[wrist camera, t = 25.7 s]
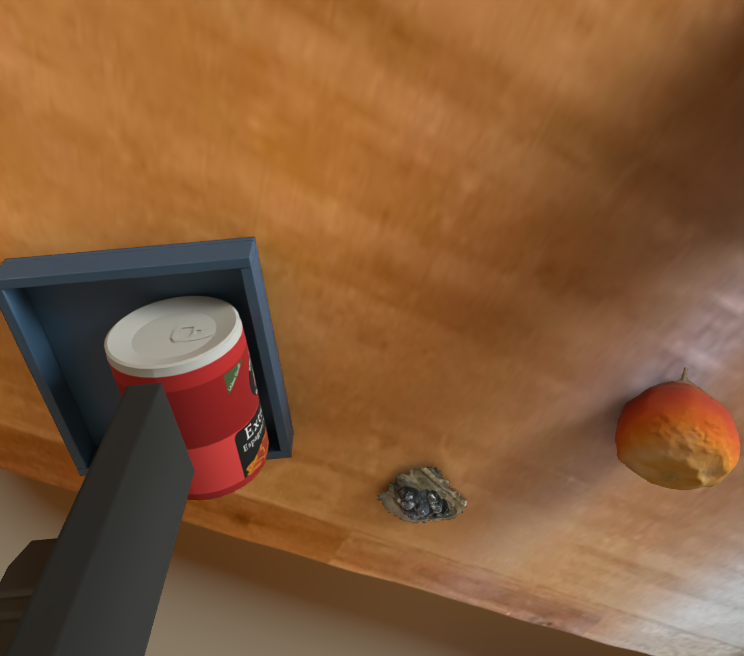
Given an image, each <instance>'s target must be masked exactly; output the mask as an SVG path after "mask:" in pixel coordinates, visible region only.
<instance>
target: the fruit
mask: <svg viewBox="0 0 744 656" xmlns="http://www.w3.org/2000/svg"><path fill="white" fill-rule="evenodd" d="M687 370H688V368H687V369H686V367H685V368H684V371H683V374H682V376H681V378H680V379H679V380H678V381H671V382H667V383H663V384H659V385H656V386H653V387H650V388H649V389H647V390H645V391H644V392H643V393H641V394H640V395H639V396H637V397H635V398H634V399H632V400H630V401H629V402H628V403H627V404H626V405H625V407H624V409H623V411H622V413H621V416H620V418H619V421H618V426H617V430H616V434H615V443H616V447H617V457H618V459H619V460H620V461H621V462H622V463H623V464H625V465H626V466H627V467H628V468H629V469H631V470H632V471H633V472H635V473H636V474H638V475H639V476H641V477H642V478H644V479H646V480H647V481H648V482H650V483H652V484H656V485H659V486H662V487H666V488H670V489H678V490H691V489H696V488H701V487H712V486H714V485H715V484H717V483H719V482H721V481H722V480H723V478H724V477H725V476H726V475H727V474H728V473H729V472H731V471H732V470H733V468H734V467H735V466H736V464H737V462H738V459H739V454H740V440H739V436H738V433H737V430H736V426H735V423H734V420H733V417H732V415H731V414H730V412H729V411H728V410H727V409H726V407H724V406H723V405H722V404H721V403H719V402H718V401H716V400H715V399H713V398H712V397H710V396H709V395H708V394H706V393H705V392H704V391H703V390H702V389H701V388H699V387H697V386H696V385H695V384H693V383H692V382H691V381H689V380H688V378H687Z"/></svg>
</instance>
